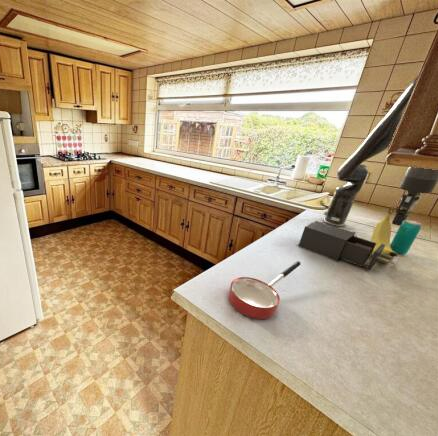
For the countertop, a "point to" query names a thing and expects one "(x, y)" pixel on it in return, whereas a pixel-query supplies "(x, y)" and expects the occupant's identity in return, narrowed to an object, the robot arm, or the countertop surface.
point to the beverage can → (405, 237)
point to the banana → (384, 237)
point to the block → (365, 247)
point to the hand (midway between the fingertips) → (398, 222)
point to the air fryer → (325, 239)
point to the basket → (363, 252)
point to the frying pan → (256, 295)
